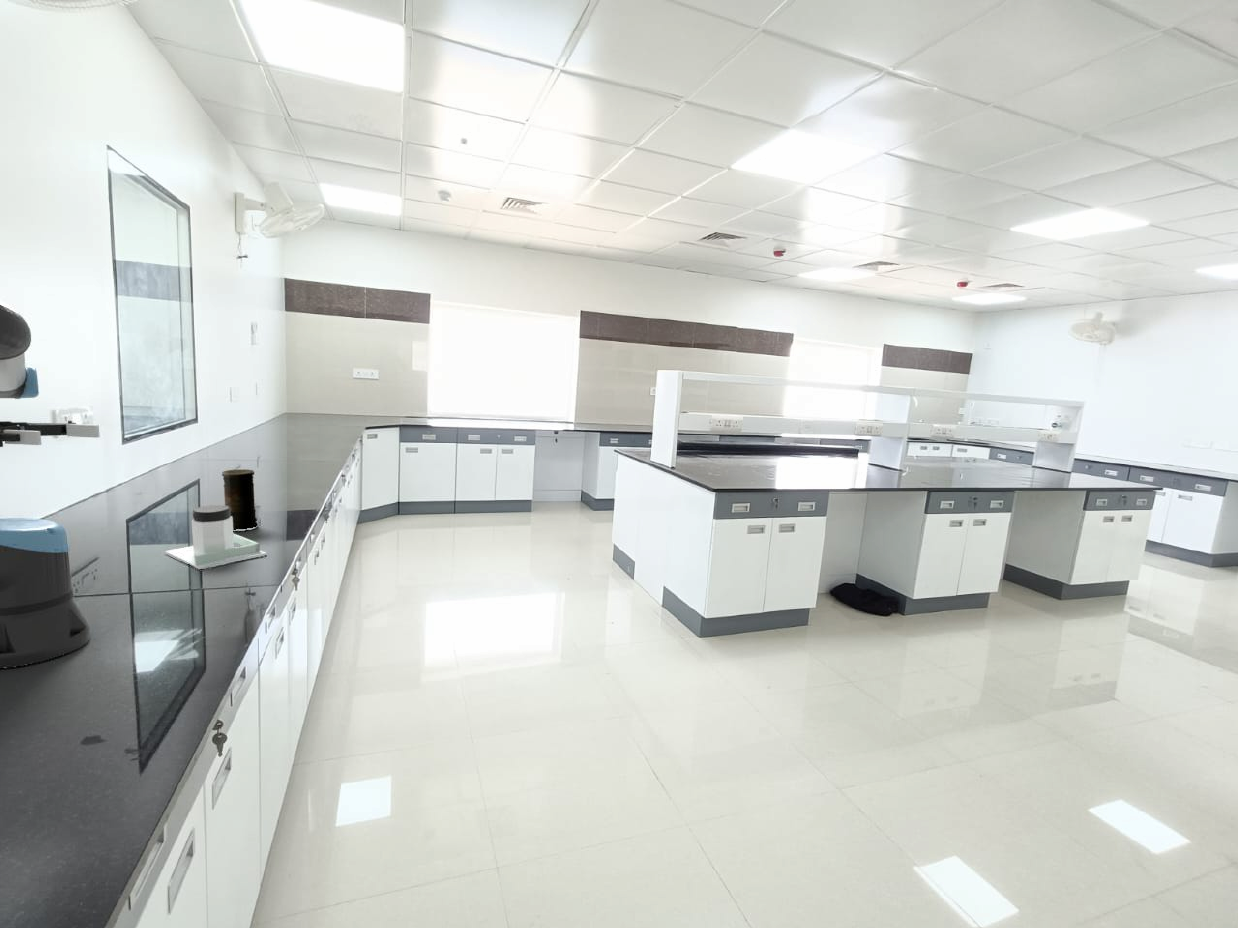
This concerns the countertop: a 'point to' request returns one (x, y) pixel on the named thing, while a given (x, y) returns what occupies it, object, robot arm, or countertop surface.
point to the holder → (216, 553)
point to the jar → (212, 529)
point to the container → (240, 497)
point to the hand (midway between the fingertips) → (70, 434)
